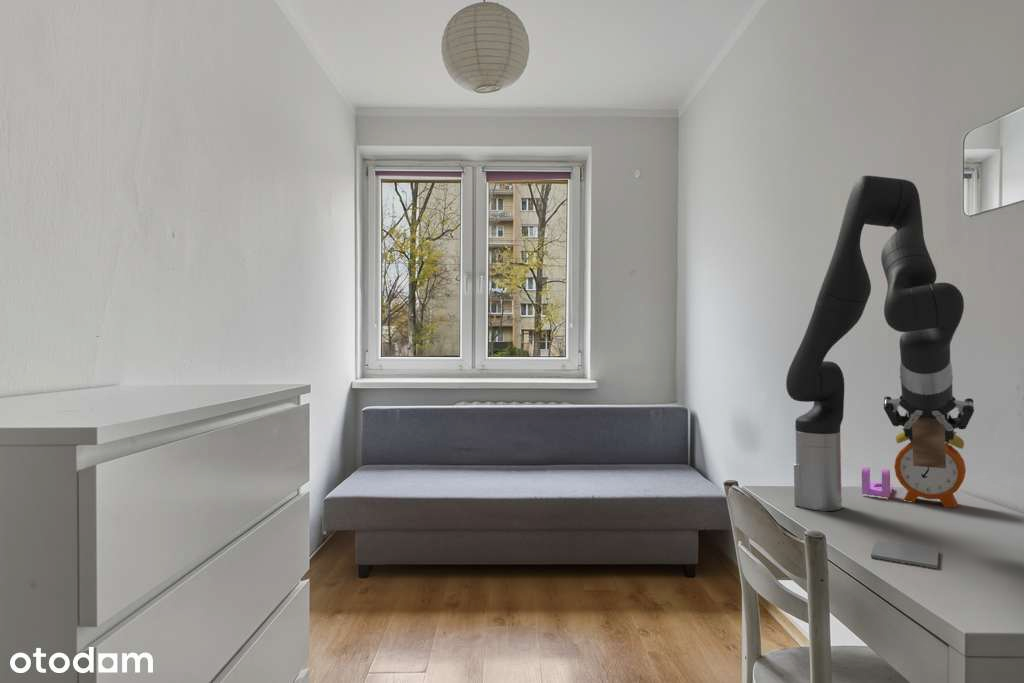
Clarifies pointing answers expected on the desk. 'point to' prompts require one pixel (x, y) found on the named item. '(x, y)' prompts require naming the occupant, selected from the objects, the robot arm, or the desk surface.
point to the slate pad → (905, 553)
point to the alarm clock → (931, 473)
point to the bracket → (876, 483)
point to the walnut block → (928, 443)
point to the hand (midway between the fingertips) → (928, 437)
